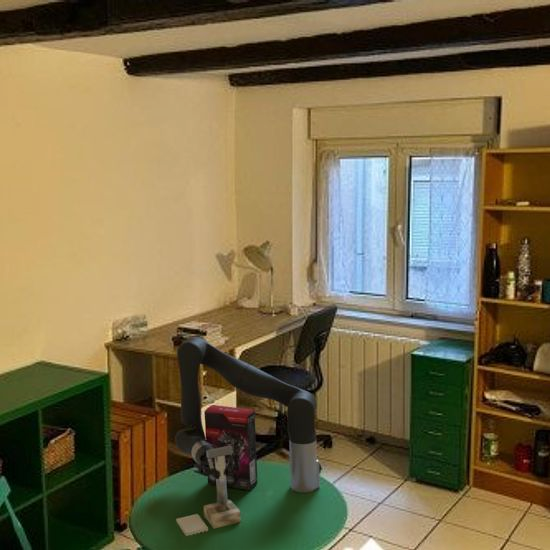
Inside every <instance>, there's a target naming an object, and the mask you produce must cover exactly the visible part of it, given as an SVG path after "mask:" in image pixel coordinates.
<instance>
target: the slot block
mask: <svg viewBox="0 0 550 550" xmlns="http://www.w3.org/2000/svg"><path fill="white" fill-rule="evenodd" d="M227 502H228V503H227V504H226V505H218V504H217V502H213V503H209V504H205V505H203V517H204V518H205V519H206V520H207V522H208V523H209V524H210V525H211V527H212V528H213V529H217V528H221V527H225V526H230V525H234V524H238V522H239V523H241V522H242V519H241V518H242V517H241V511H240V509H239V508H238V506H236V504H234V502H233V501H232V500H231V499H227Z"/></svg>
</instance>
